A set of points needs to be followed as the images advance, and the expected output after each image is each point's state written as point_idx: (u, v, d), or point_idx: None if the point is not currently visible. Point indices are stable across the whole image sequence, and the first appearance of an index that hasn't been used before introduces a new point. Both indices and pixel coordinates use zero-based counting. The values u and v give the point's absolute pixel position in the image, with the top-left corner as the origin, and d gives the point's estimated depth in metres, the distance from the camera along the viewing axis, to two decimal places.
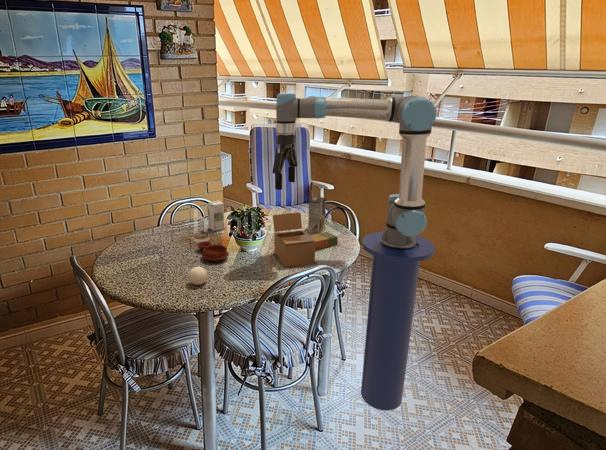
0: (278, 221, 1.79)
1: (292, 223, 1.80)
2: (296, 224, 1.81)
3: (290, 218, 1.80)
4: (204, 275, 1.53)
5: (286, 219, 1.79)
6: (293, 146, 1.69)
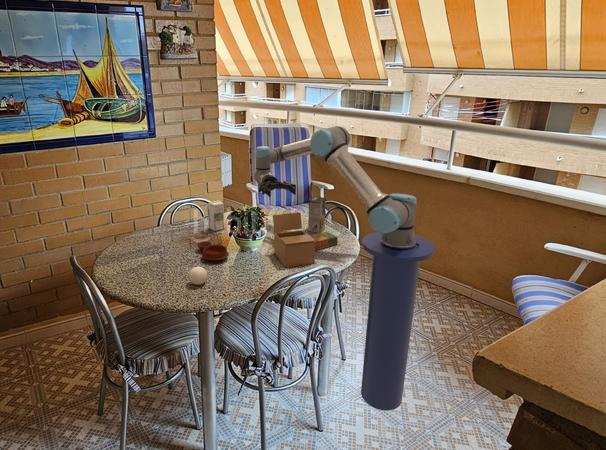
0: (278, 221, 1.79)
1: (292, 223, 1.80)
2: (296, 224, 1.81)
3: (290, 218, 1.80)
4: (204, 274, 1.53)
5: (286, 219, 1.79)
6: (283, 181, 1.98)
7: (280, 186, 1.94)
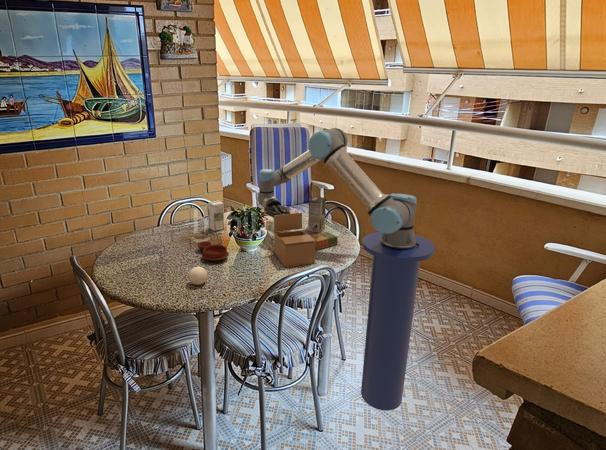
0: (279, 221, 1.78)
1: (293, 223, 1.79)
2: (296, 224, 1.80)
3: (291, 218, 1.79)
4: (204, 274, 1.53)
5: (287, 219, 1.78)
6: None
7: (280, 212, 1.92)
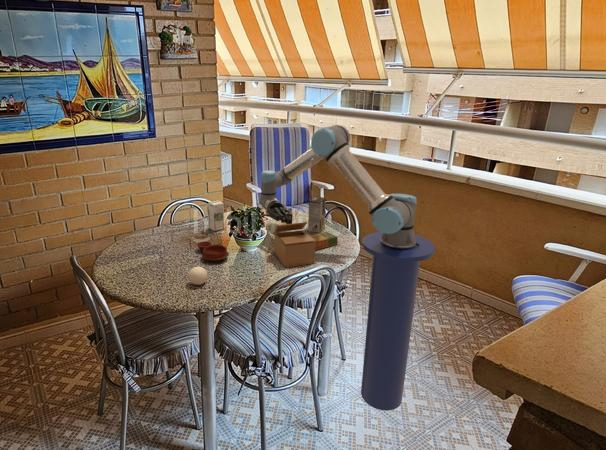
0: (281, 228, 1.75)
1: (294, 227, 1.78)
2: (298, 228, 1.79)
3: (294, 226, 1.75)
4: (204, 275, 1.53)
5: (290, 226, 1.75)
6: None
7: (282, 214, 1.88)
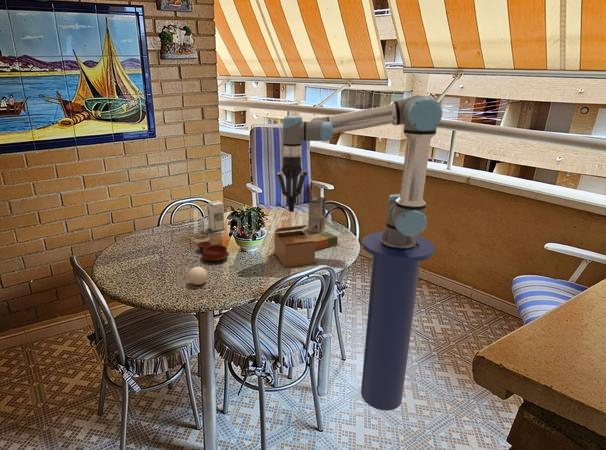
0: (282, 229, 1.75)
1: (295, 229, 1.78)
2: (298, 228, 1.79)
3: (295, 228, 1.75)
4: (204, 275, 1.53)
5: (290, 228, 1.75)
6: (304, 173, 1.68)
7: (292, 180, 1.69)
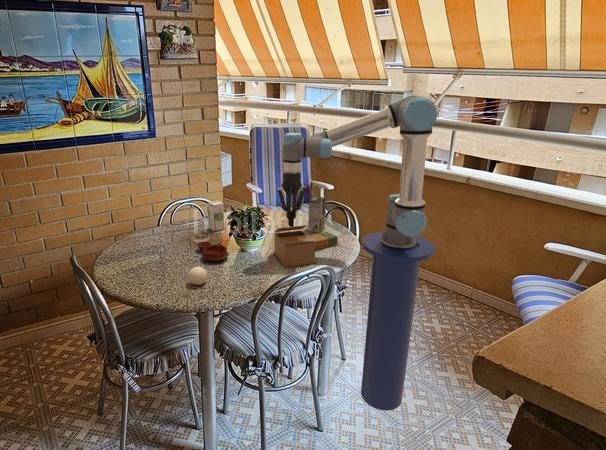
0: (282, 229, 1.75)
1: (295, 229, 1.78)
2: (298, 228, 1.79)
3: (295, 228, 1.75)
4: (204, 274, 1.53)
5: (290, 228, 1.75)
6: (303, 189, 1.70)
7: (292, 195, 1.71)
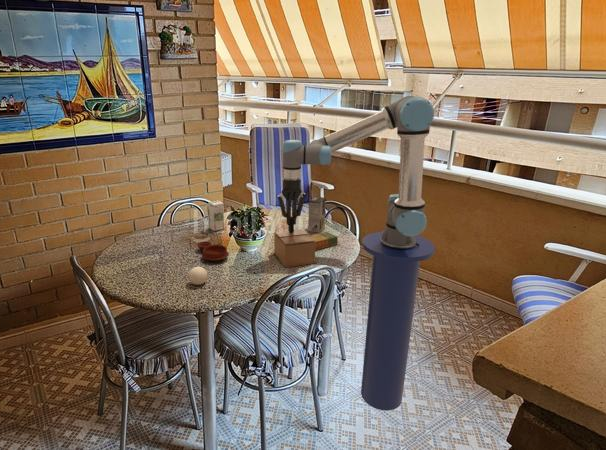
0: None
1: None
2: None
3: None
4: (204, 274, 1.53)
5: None
6: (303, 195, 1.71)
7: (292, 202, 1.72)
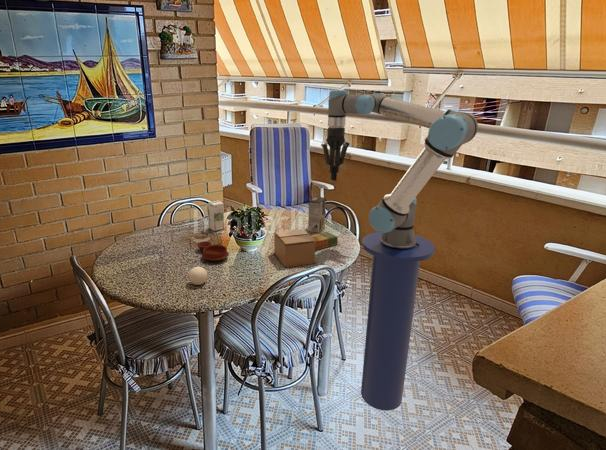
0: None
1: None
2: None
3: None
4: (204, 275, 1.53)
5: None
6: (346, 144, 1.80)
7: (336, 150, 1.81)
